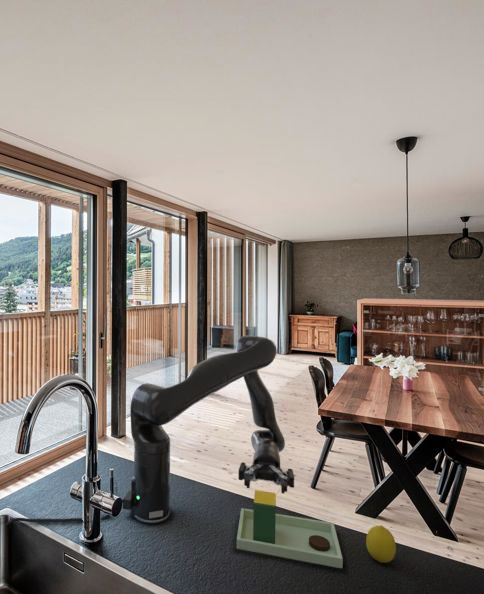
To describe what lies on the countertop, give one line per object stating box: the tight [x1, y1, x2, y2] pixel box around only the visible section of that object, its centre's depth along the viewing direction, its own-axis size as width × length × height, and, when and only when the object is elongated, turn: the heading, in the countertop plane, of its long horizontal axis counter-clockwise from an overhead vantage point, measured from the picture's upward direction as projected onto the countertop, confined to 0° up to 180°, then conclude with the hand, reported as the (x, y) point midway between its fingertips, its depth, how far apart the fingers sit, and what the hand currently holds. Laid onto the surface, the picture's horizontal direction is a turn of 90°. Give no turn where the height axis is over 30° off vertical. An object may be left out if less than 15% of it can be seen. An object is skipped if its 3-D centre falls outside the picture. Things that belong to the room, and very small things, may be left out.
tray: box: [236, 507, 344, 569], centre depth 95 cm, size 22×14×3 cm, turn 73°
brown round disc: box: [309, 535, 330, 552], centre depth 93 cm, size 4×4×1 cm
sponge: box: [253, 489, 277, 544], centre depth 96 cm, size 5×7×9 cm
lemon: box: [365, 525, 397, 564], centre depth 88 cm, size 6×6×8 cm
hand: (265, 487), depth 104 cm, fingers open, 8 cm apart
